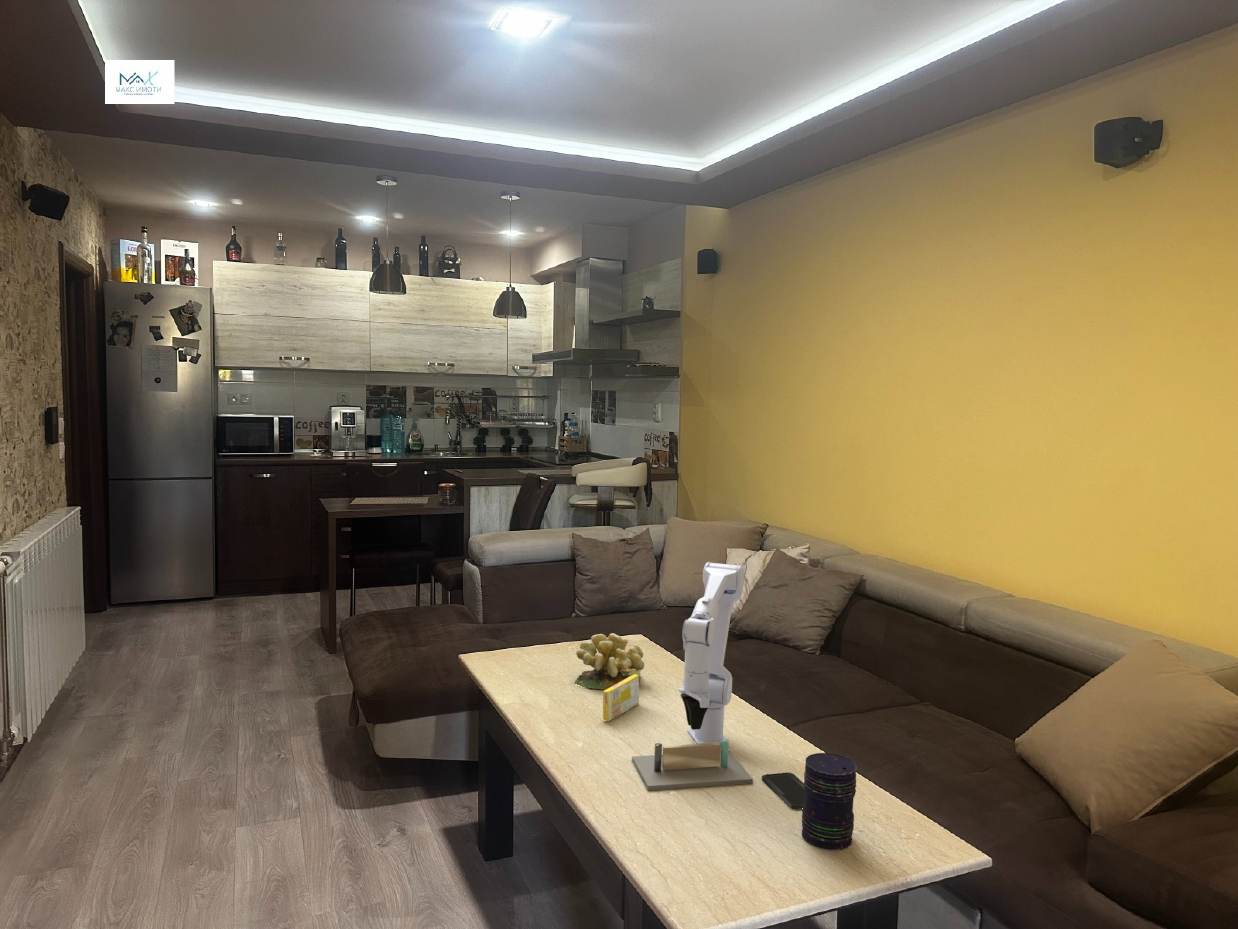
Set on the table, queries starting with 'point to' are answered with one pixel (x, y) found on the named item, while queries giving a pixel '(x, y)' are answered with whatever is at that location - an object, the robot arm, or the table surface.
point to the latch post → (724, 753)
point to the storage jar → (828, 801)
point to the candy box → (620, 697)
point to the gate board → (690, 774)
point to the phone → (787, 788)
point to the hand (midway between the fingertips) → (694, 726)
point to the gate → (691, 756)
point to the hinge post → (658, 757)
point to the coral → (608, 661)
